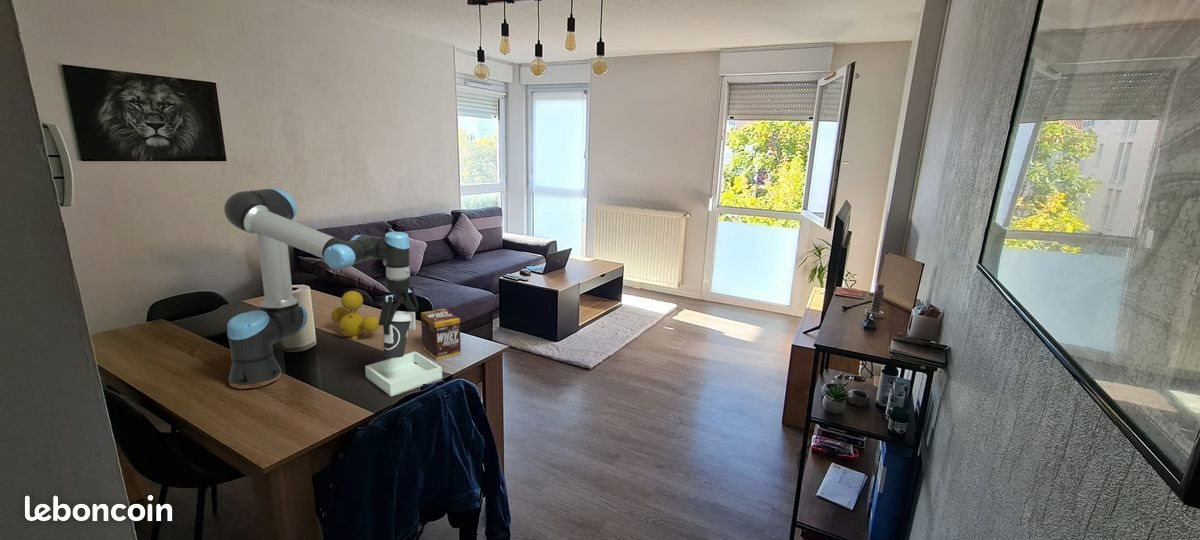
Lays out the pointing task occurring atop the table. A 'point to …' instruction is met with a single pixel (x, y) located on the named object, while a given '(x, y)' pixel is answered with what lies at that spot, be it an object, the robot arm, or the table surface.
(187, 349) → the table surface
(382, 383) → the bin
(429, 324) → the supplement box
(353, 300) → the toy
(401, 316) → the coffee cup
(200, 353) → the table surface
